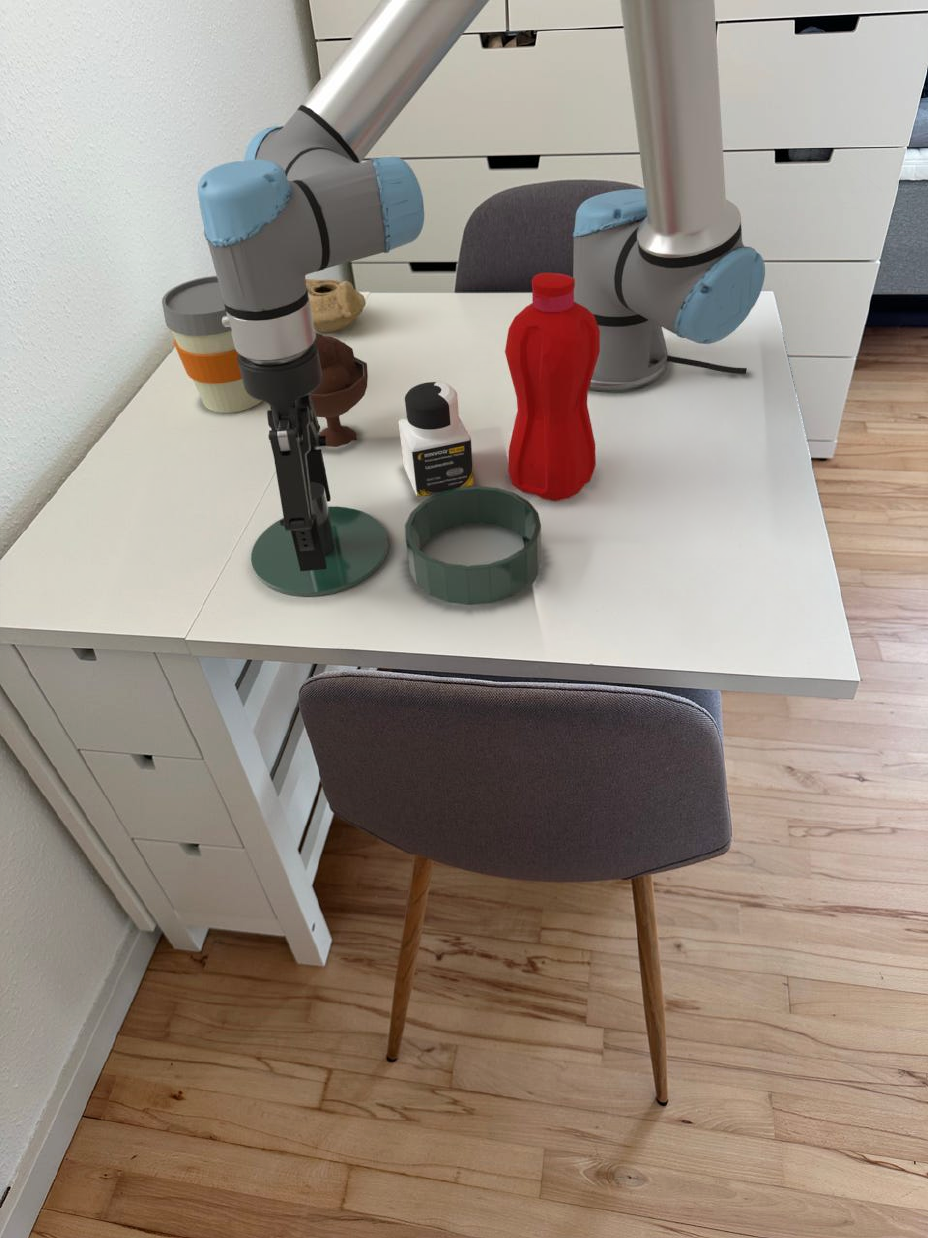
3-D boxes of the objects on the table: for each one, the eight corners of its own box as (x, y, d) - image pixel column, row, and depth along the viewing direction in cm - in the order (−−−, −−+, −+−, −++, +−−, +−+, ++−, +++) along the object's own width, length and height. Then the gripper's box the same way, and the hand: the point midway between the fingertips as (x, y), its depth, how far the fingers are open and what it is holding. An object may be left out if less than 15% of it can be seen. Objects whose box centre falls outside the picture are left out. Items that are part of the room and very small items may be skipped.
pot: (531, 519, 104) (531, 480, 100) (549, 601, 93) (549, 561, 90) (408, 530, 103) (403, 492, 100) (412, 614, 93) (406, 575, 89)
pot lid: (388, 509, 107) (378, 445, 101) (389, 593, 96) (379, 528, 90) (259, 520, 107) (243, 458, 101) (246, 607, 95) (226, 542, 89)
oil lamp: (301, 304, 150) (292, 256, 145) (381, 314, 145) (375, 265, 140) (266, 333, 143) (255, 283, 137) (350, 345, 138) (342, 294, 133)
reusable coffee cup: (173, 413, 126) (140, 310, 116) (218, 371, 135) (192, 271, 124) (252, 424, 123) (226, 319, 112) (293, 380, 131) (272, 278, 121)
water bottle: (610, 465, 111) (623, 261, 93) (566, 512, 104) (570, 302, 87) (545, 445, 115) (545, 246, 97) (498, 489, 108) (490, 285, 91)
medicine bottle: (417, 500, 108) (407, 411, 99) (403, 468, 113) (393, 381, 104) (474, 488, 109) (469, 399, 100) (458, 457, 114) (452, 370, 106)
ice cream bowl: (366, 464, 114) (348, 354, 104) (283, 459, 116) (257, 350, 106) (387, 420, 121) (373, 313, 111) (309, 416, 123) (288, 311, 113)
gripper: (248, 296, 93) (289, 474, 107) (220, 416, 75) (273, 608, 90) (321, 290, 93) (352, 468, 108) (309, 408, 75) (348, 601, 90)
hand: (316, 532), depth 99 cm, fingers open, 11 cm apart
